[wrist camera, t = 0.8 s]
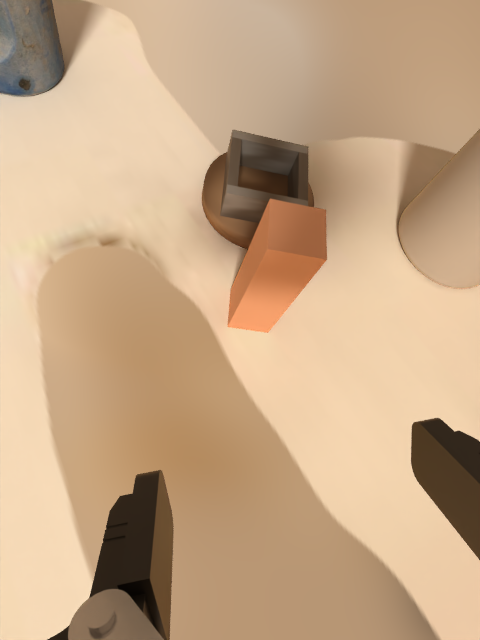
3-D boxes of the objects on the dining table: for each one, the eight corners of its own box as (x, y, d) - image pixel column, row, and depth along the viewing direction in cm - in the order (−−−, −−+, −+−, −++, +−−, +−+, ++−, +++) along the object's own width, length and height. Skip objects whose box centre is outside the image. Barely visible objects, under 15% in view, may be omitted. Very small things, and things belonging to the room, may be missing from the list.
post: (227, 326, 38) (267, 249, 25) (230, 289, 39) (270, 198, 27) (267, 332, 39) (326, 259, 26) (269, 295, 40) (325, 209, 27)
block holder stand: (196, 239, 41) (202, 206, 36) (207, 151, 45) (214, 110, 40) (307, 259, 43) (327, 230, 38) (307, 173, 47) (325, 136, 42)
